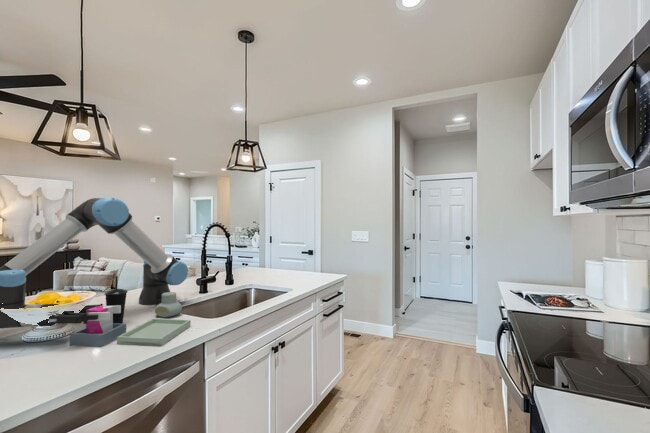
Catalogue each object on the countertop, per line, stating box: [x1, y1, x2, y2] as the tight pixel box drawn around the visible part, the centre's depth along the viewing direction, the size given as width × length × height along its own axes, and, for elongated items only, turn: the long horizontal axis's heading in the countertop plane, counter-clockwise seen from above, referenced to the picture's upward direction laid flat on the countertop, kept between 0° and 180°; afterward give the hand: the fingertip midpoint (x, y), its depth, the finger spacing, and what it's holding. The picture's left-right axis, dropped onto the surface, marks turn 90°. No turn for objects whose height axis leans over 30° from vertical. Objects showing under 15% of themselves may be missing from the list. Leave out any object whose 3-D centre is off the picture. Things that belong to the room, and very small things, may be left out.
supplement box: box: [85, 305, 113, 334], centre depth 110 cm, size 6×6×12 cm
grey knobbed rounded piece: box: [154, 291, 183, 319], centre depth 138 cm, size 11×8×10 cm
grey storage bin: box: [69, 323, 127, 348], centre depth 110 cm, size 12×12×4 cm
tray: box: [116, 318, 192, 347], centre depth 116 cm, size 20×16×2 cm
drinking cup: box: [104, 275, 128, 324], centre depth 124 cm, size 8×8×20 cm
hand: (115, 312), depth 111 cm, fingers closed on supplement box, 7 cm apart
